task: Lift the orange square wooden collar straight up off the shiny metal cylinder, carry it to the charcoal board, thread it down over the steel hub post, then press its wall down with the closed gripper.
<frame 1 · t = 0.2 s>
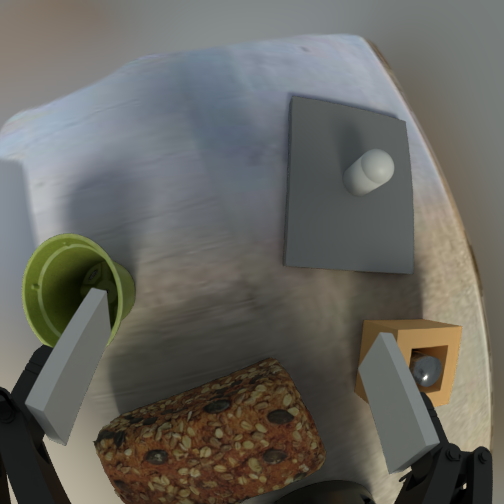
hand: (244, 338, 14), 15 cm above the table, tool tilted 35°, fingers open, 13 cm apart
plant pot: (108, 292, 28), on the table
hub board: (351, 185, 31), on the table
shiny metal cylinder: (391, 355, 29), on the table
collar: (391, 355, 29), on the table
bread: (210, 424, 28), on the table
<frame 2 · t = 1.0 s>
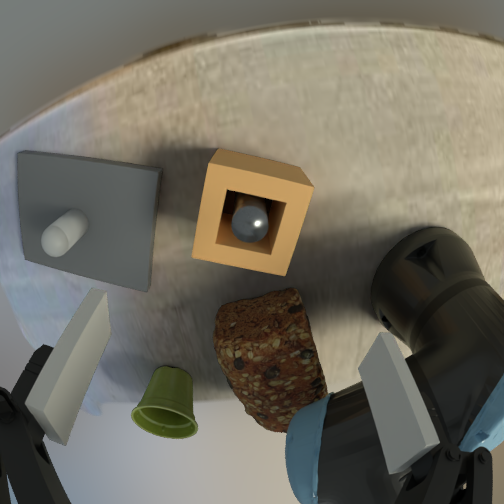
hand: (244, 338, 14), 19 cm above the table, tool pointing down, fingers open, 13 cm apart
plant pot: (173, 377, 43), on the table
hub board: (82, 217, 30), on the table
shiny metal cylinder: (249, 196, 30), on the table
collar: (249, 196, 30), on the table
bread: (276, 343, 40), on the table
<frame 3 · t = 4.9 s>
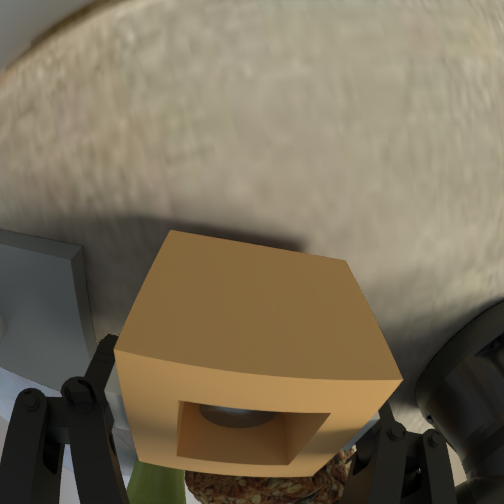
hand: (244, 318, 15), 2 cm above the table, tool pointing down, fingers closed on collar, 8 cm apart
plant pot: (160, 463, 30), on the table
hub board: (1, 306, 17), on the table
shiny metal cylinder: (240, 289, 16), on the table
collar: (243, 315, 15), point 2 cm above the table, touching gripper
bread: (286, 440, 27), on the table
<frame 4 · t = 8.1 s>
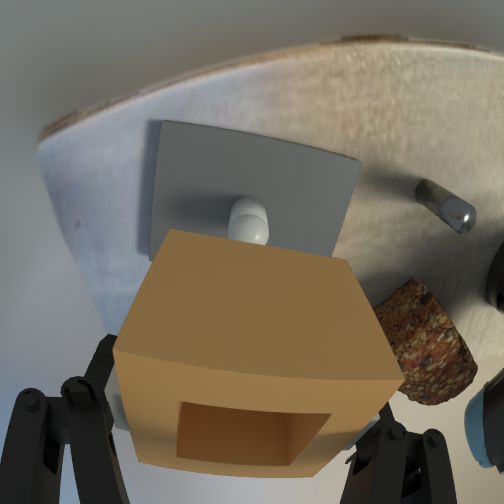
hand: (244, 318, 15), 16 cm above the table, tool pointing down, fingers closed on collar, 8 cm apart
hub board: (248, 207, 29), on the table
shiny metal cylinder: (426, 192, 28), on the table
collar: (244, 315, 15), point 16 cm above the table, touching gripper
bread: (411, 329, 38), on the table
when the fingers open (3 cm above the table, at t = 11.3 s): collar stays where it is, resting on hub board.
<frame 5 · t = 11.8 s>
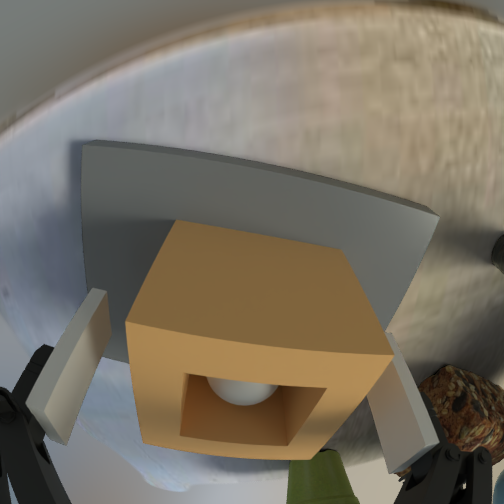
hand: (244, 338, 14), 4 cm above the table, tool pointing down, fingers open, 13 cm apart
plant pot: (314, 457, 30), on the table
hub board: (245, 286, 17), on the table
collar: (245, 302, 16), point 1 cm above the table, touching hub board
bread: (448, 400, 26), on the table
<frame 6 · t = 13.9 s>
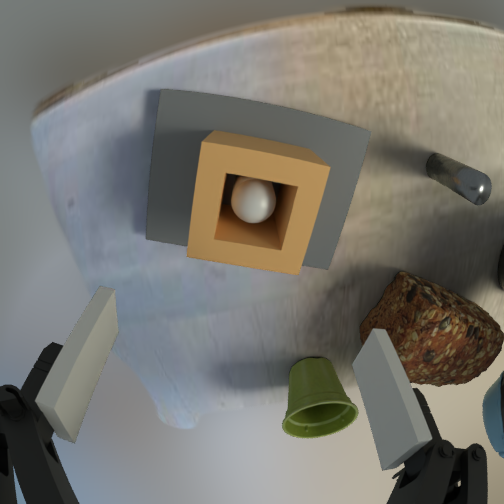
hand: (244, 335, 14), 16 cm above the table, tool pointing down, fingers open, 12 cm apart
plant pot: (311, 369, 40), on the table
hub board: (252, 179, 27), on the table
shiny metal cylinder: (436, 166, 26), on the table
collar: (253, 183, 26), point 1 cm above the table, touching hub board
bread: (423, 313, 36), on the table
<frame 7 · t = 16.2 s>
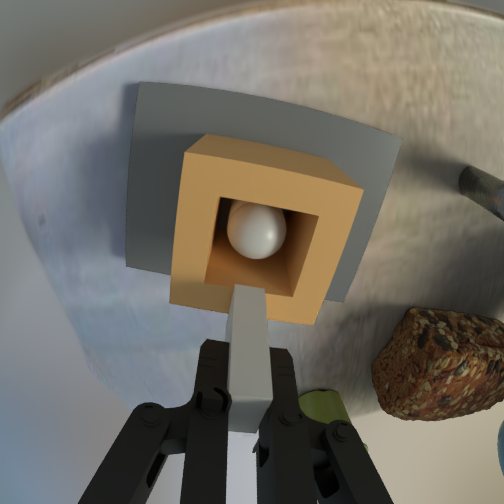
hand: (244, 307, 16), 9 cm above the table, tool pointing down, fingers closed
plant pot: (316, 401, 35), on the table
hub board: (254, 195, 22), on the table
shiny metal cylinder: (469, 181, 21), on the table
collar: (255, 202, 21), point 1 cm above the table, touching gripper, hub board
bread: (441, 340, 31), on the table
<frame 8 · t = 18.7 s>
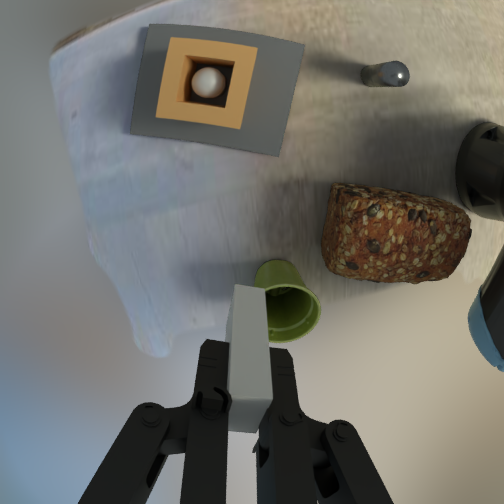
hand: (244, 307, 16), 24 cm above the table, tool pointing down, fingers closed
plant pot: (277, 276, 44), on the table
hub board: (214, 85, 31), on the table
shiny metal cylinder: (371, 76, 30), on the table
collar: (213, 84, 30), point 1 cm above the table, touching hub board
bread: (383, 220, 40), on the table
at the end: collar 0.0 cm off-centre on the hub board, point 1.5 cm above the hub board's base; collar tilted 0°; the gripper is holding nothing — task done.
